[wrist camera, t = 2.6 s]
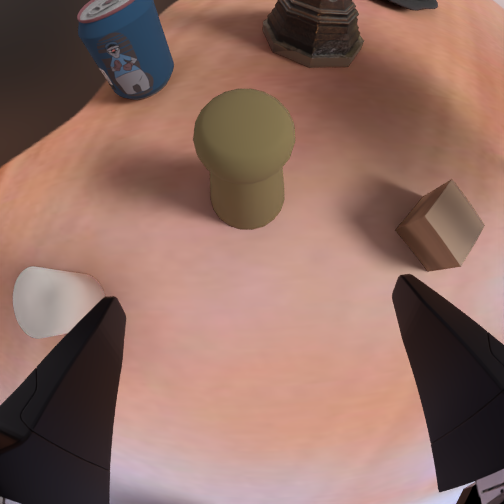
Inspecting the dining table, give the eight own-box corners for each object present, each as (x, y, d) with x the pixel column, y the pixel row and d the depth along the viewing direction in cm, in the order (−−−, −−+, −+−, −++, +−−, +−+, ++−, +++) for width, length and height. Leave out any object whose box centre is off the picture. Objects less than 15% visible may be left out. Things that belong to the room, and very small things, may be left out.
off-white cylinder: (73, 335, 21) (23, 345, 14) (57, 284, 22) (7, 280, 15) (113, 320, 22) (66, 328, 15) (96, 265, 22) (47, 255, 15)
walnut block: (427, 271, 22) (460, 266, 17) (394, 230, 23) (424, 216, 18) (452, 236, 22) (484, 225, 18) (422, 196, 23) (452, 178, 18)
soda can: (157, 52, 25) (129, -24, 14) (188, 77, 25) (163, -13, 13) (108, 86, 25) (63, 15, 13) (133, 115, 24) (82, 34, 12)
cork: (214, 235, 22) (181, 184, 12) (207, 166, 23) (177, 81, 12) (290, 224, 23) (322, 166, 12) (277, 156, 23) (293, 68, 12)
